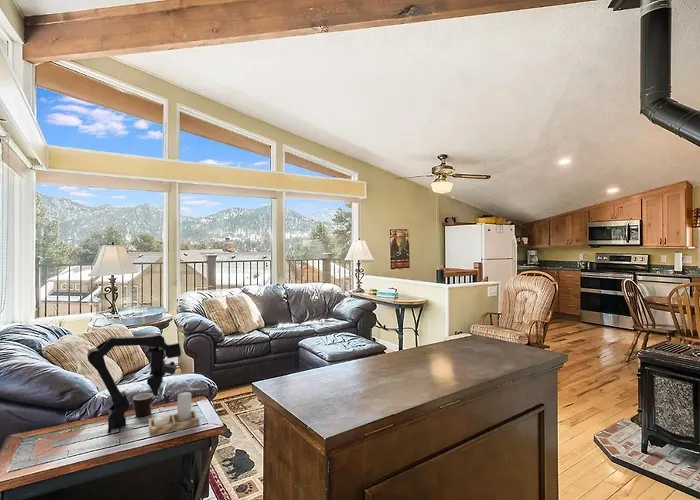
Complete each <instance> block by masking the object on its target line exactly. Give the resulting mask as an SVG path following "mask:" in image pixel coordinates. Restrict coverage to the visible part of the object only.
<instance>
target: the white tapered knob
mask: <svg viewBox="0 0 700 500" xmlns="http://www.w3.org/2000/svg"><path fill="white" fill-rule="evenodd" d="M176 398H177V404H176V406H177V407H176V408H177V413H176V414H177V418H178V422H183V421H188V420H191V411H192V393H191V392H188V391H186V392H185V391H184V392H180V393H178V394H177V397H176Z"/></svg>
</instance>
